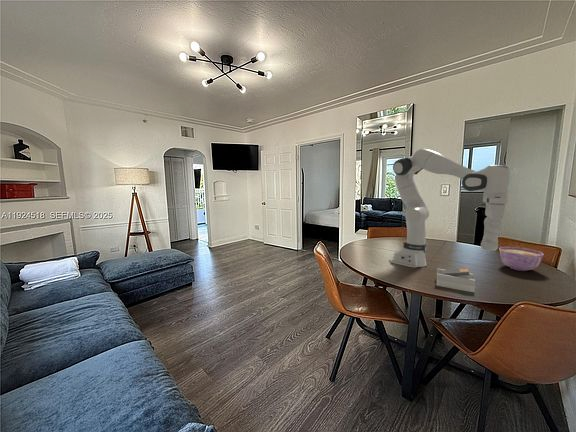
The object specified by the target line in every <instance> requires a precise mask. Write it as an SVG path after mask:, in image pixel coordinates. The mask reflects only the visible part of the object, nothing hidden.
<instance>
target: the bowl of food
mask: <svg viewBox="0 0 576 432" xmlns="http://www.w3.org/2000/svg"><path fill="white" fill-rule="evenodd" d="M498 250H499V255H500V260H501V262H502V263H503V264H504V265H505V266H506V267H510V268H509V269H511V270H514V271H520V272H526V271H531V270H535V269H536V268H538V266H539V265H540V263H541V262H542V259H543V257H544V253H543V252H542V251H539V250H535V249H530V248H527V247H526V248H525V247H517V246H500V247H498Z"/></svg>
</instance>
